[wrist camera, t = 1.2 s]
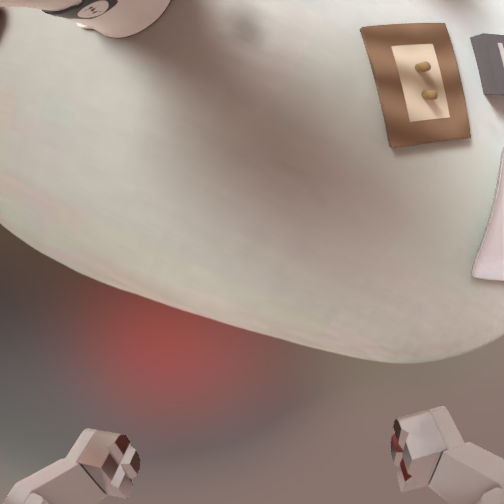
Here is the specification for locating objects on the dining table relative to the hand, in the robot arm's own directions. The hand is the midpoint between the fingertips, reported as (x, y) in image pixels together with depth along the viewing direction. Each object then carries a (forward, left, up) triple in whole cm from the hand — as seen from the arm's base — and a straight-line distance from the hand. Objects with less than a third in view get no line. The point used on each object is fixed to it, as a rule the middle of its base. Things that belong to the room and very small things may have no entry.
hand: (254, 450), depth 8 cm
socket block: (-11, +32, -37) cm, 50 cm away
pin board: (-9, +19, -37) cm, 42 cm away
